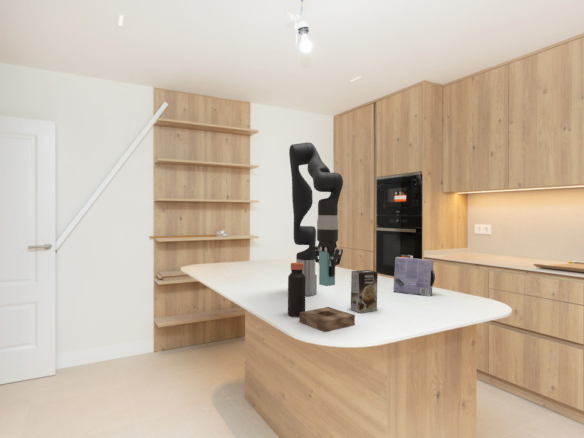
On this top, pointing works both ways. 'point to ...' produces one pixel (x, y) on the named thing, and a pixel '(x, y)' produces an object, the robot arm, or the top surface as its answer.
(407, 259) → the cake pan box
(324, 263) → the peg
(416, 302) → the top surface
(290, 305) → the bottle
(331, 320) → the socket block
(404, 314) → the top surface
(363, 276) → the coffee box
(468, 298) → the top surface
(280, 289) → the top surface
